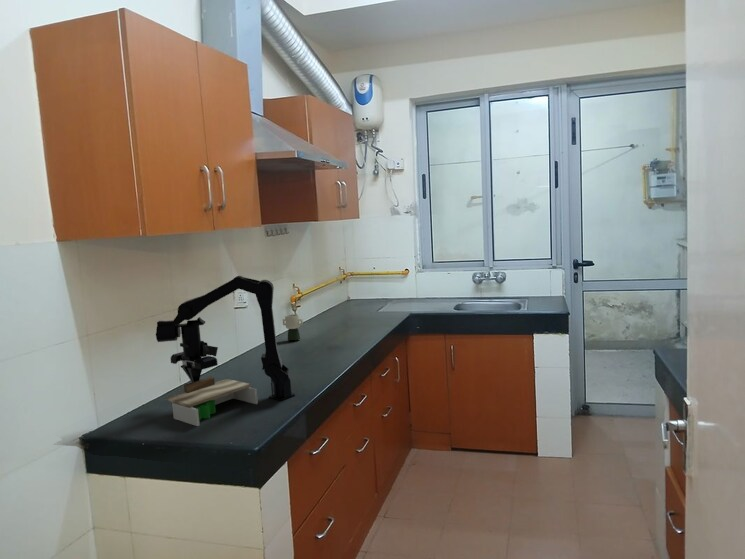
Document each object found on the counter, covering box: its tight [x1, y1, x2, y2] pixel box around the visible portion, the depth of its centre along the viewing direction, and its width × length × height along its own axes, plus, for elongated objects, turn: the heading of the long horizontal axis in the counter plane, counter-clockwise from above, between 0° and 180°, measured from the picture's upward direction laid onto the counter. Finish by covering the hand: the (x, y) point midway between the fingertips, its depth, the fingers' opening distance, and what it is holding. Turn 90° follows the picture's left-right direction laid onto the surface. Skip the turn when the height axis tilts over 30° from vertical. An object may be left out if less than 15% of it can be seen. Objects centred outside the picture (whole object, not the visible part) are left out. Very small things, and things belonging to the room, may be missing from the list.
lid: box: [166, 376, 251, 407], centre depth 171 cm, size 13×23×3 cm, turn 141°
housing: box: [171, 386, 259, 427], centre depth 170 cm, size 13×23×5 cm, turn 141°
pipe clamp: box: [195, 400, 217, 421], centre depth 166 cm, size 10×4×4 cm, turn 173°
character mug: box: [282, 313, 304, 341], centre depth 268 cm, size 11×7×13 cm, turn 74°
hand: (196, 385), depth 176 cm, fingers closed
